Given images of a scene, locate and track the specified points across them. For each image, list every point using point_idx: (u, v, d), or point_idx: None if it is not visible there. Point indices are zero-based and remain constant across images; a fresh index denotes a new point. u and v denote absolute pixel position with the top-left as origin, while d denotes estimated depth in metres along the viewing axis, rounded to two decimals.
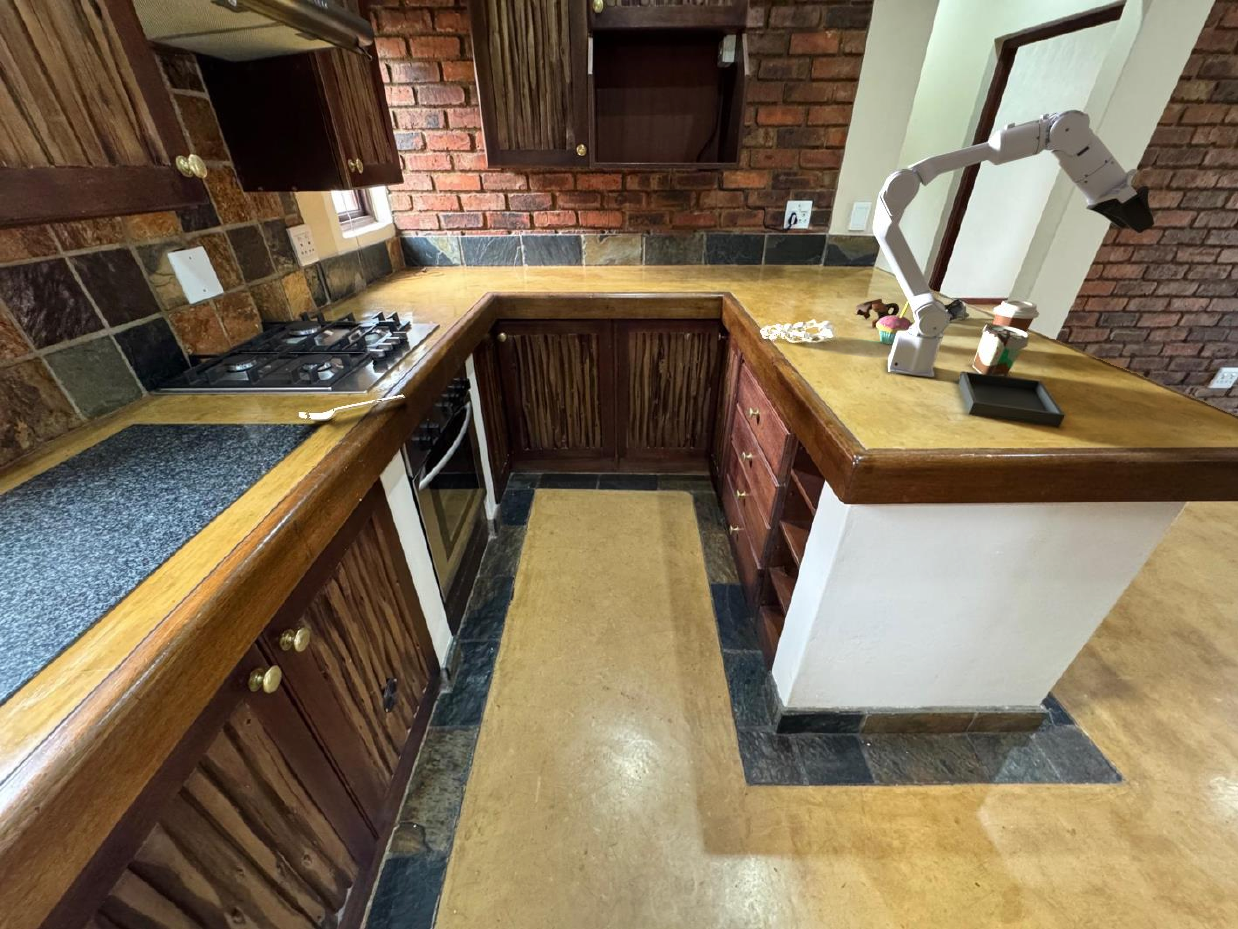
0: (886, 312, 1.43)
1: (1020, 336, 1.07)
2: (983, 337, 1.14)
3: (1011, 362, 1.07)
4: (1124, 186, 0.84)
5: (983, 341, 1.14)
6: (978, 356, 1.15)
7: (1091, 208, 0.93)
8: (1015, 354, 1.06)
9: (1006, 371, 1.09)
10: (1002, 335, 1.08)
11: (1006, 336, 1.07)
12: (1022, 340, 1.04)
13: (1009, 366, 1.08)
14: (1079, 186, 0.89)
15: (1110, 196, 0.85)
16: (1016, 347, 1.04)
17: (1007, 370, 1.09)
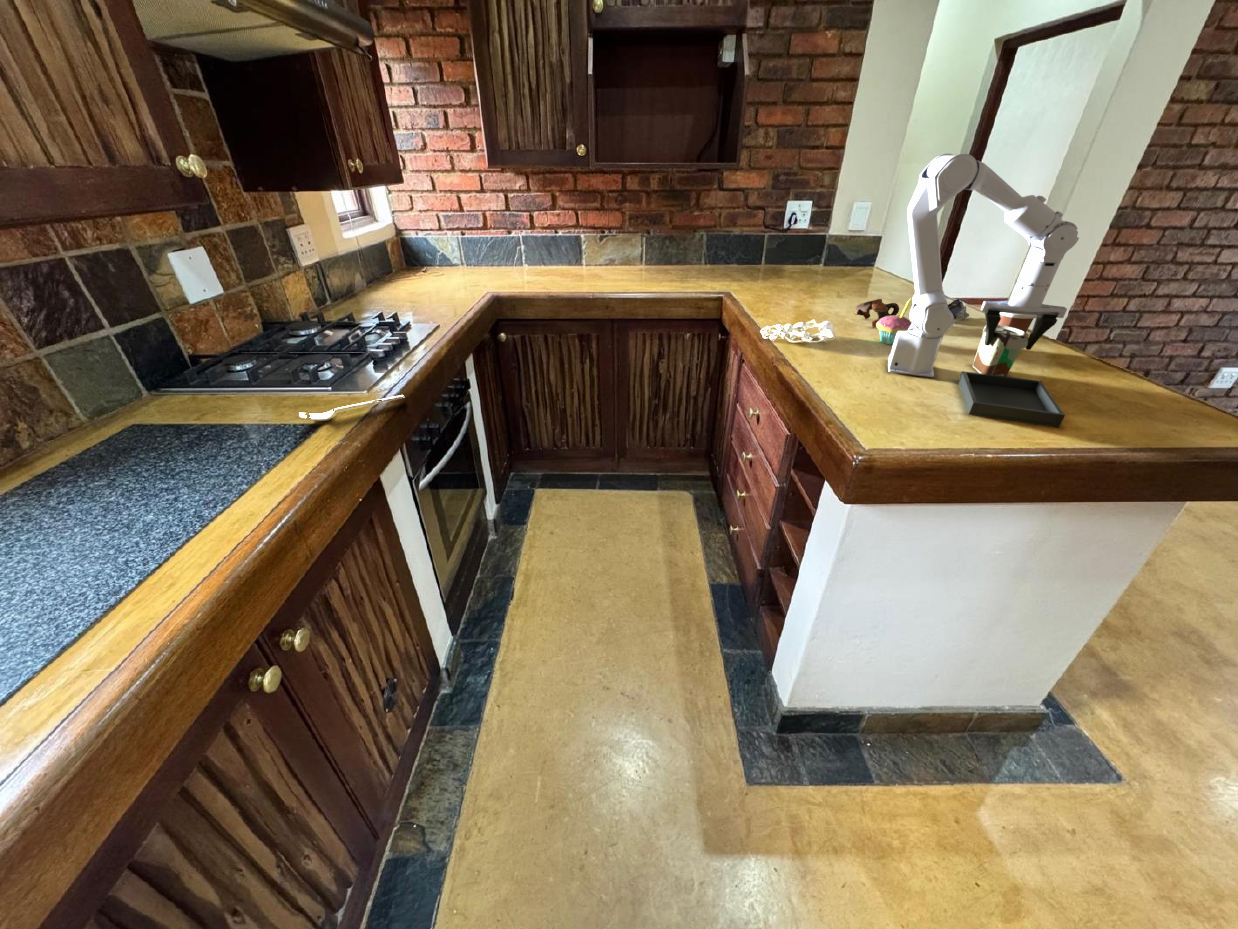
0: (886, 312, 1.43)
1: (1020, 336, 1.07)
2: (983, 337, 1.14)
3: (1011, 362, 1.07)
4: None
5: (983, 341, 1.14)
6: (978, 356, 1.15)
7: (1000, 317, 1.05)
8: (1015, 354, 1.06)
9: (1006, 371, 1.09)
10: (1002, 335, 1.08)
11: (1006, 336, 1.07)
12: (1022, 340, 1.04)
13: (1009, 366, 1.08)
14: (1038, 291, 1.00)
15: (1056, 309, 1.02)
16: (1016, 347, 1.04)
17: (1007, 370, 1.09)
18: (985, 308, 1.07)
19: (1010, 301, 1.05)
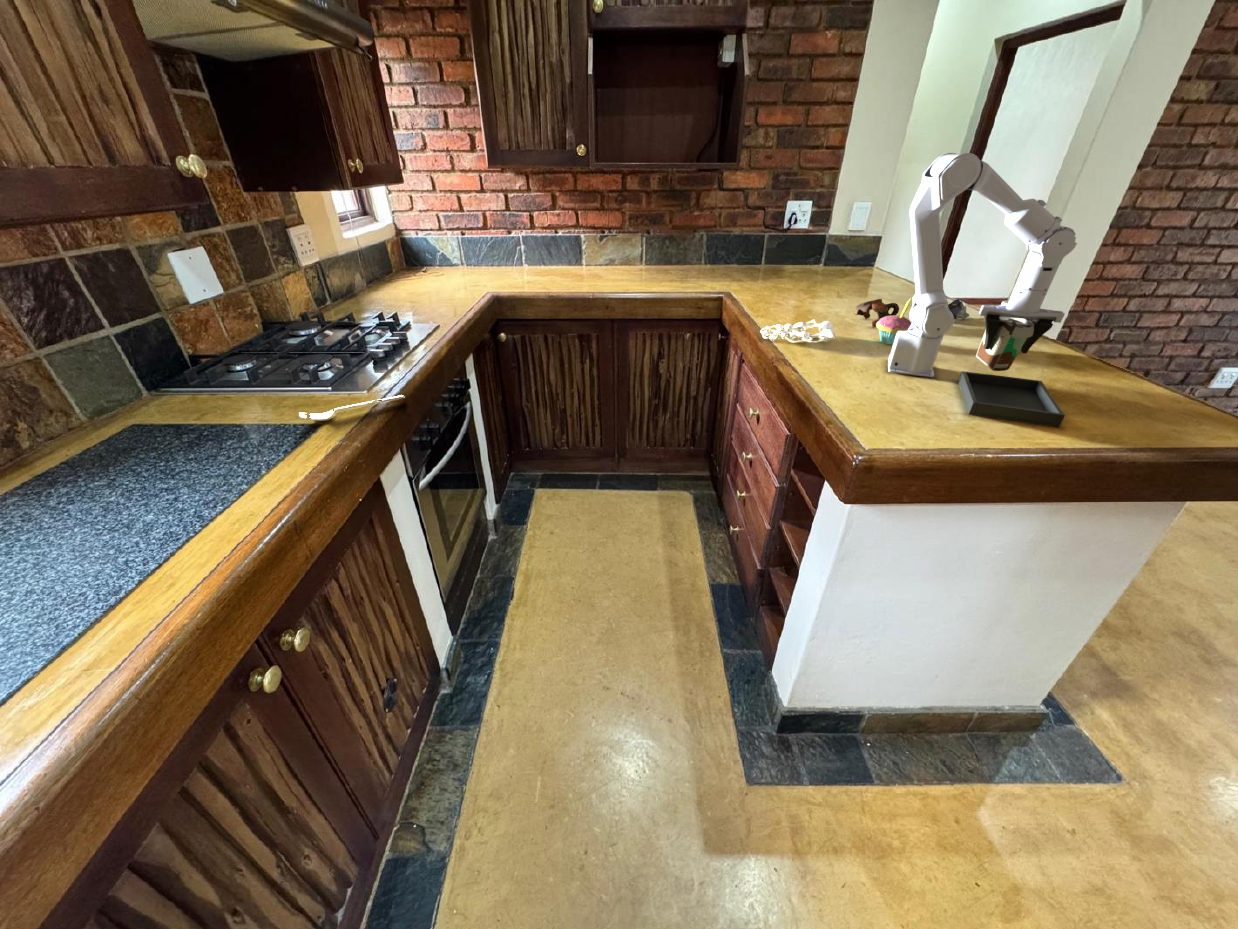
0: (886, 312, 1.43)
1: (1026, 325, 1.06)
2: None
3: (1016, 352, 1.06)
4: None
5: None
6: (982, 346, 1.14)
7: (1000, 322, 1.06)
8: (1021, 343, 1.05)
9: (1010, 361, 1.07)
10: (1008, 324, 1.06)
11: (1012, 325, 1.06)
12: (1028, 329, 1.03)
13: (1014, 356, 1.07)
14: (1036, 296, 1.01)
15: (1054, 314, 1.02)
16: (1022, 336, 1.03)
17: (1012, 360, 1.07)
18: (983, 312, 1.07)
19: (1008, 305, 1.05)
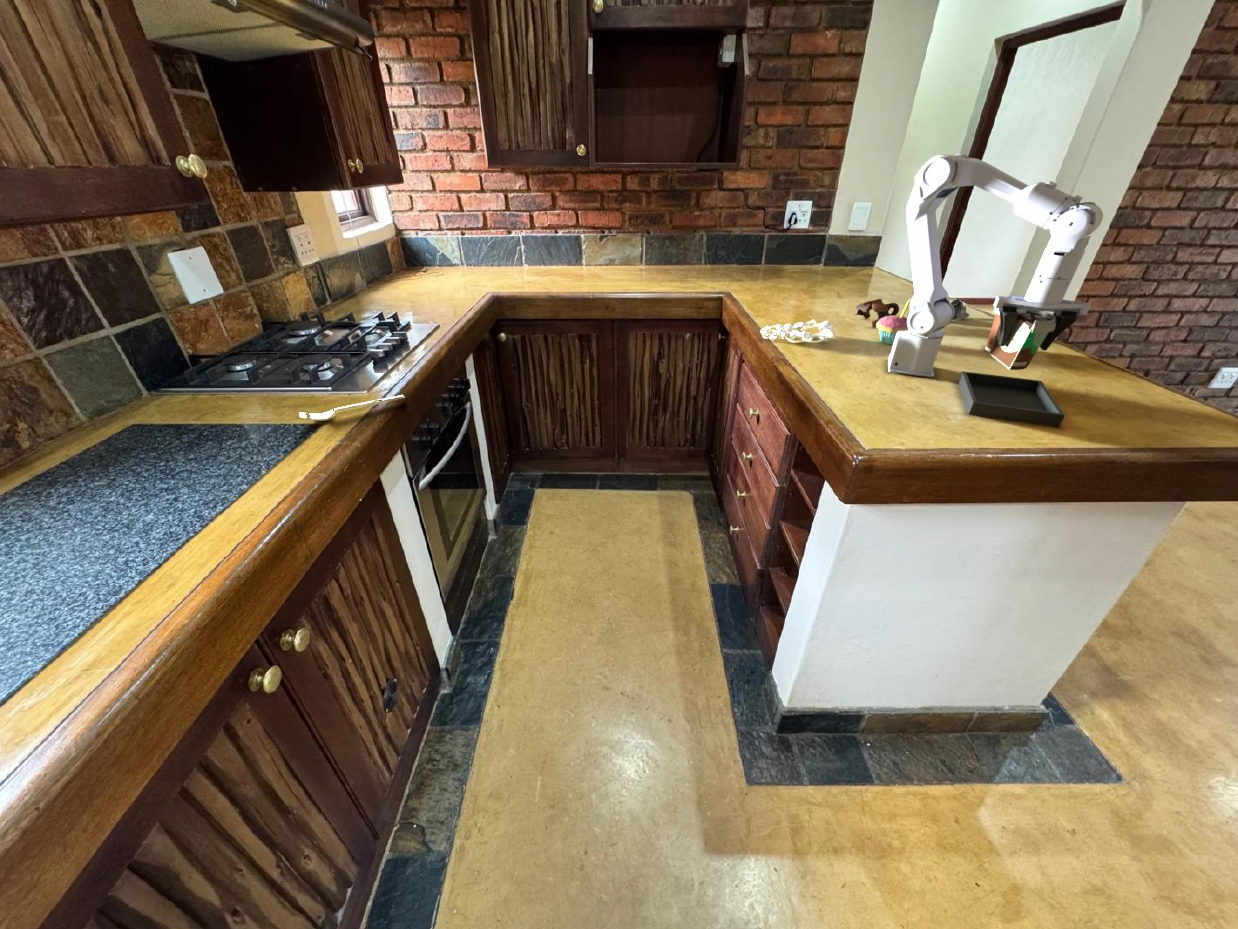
0: (886, 312, 1.43)
1: (1046, 319, 0.95)
2: None
3: (1036, 348, 0.94)
4: None
5: None
6: (996, 342, 1.02)
7: (1017, 315, 0.94)
8: (1041, 338, 0.93)
9: (1029, 359, 0.96)
10: (1026, 317, 0.95)
11: (1031, 318, 0.94)
12: (1050, 322, 0.91)
13: (1033, 353, 0.95)
14: (1059, 285, 0.89)
15: (1078, 305, 0.91)
16: (1043, 330, 0.91)
17: (1031, 357, 0.96)
18: (998, 304, 0.96)
19: (1027, 296, 0.94)
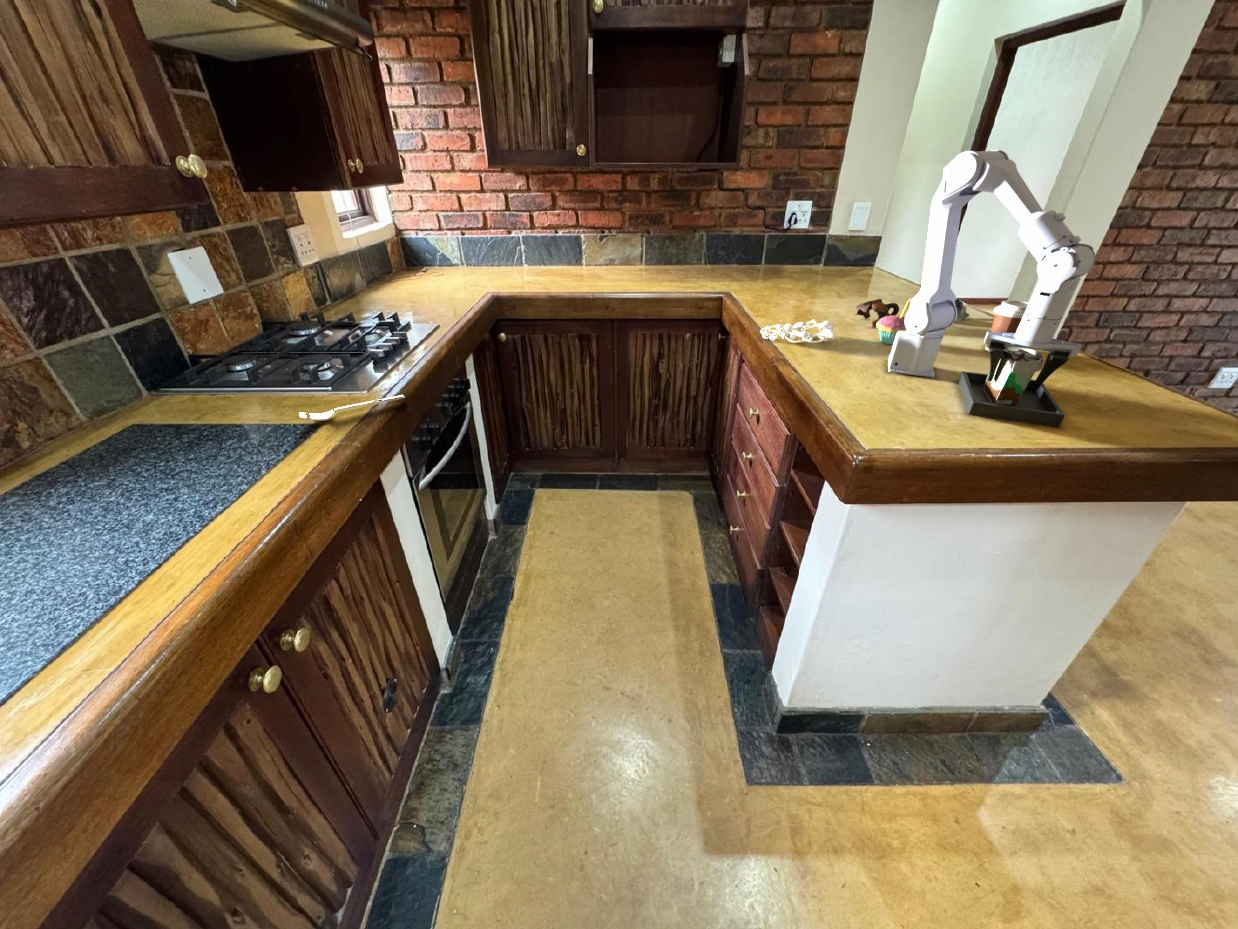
0: (886, 312, 1.43)
1: (1035, 359, 0.94)
2: None
3: (1020, 387, 0.95)
4: None
5: None
6: None
7: (1003, 351, 0.95)
8: (1025, 378, 0.93)
9: (1014, 397, 0.96)
10: (1012, 356, 0.95)
11: (1017, 358, 0.95)
12: (1032, 363, 0.91)
13: (1018, 392, 0.95)
14: (1046, 325, 0.89)
15: (1068, 346, 0.90)
16: (1024, 371, 0.91)
17: (1016, 396, 0.96)
18: (987, 340, 0.96)
19: (1016, 334, 0.94)
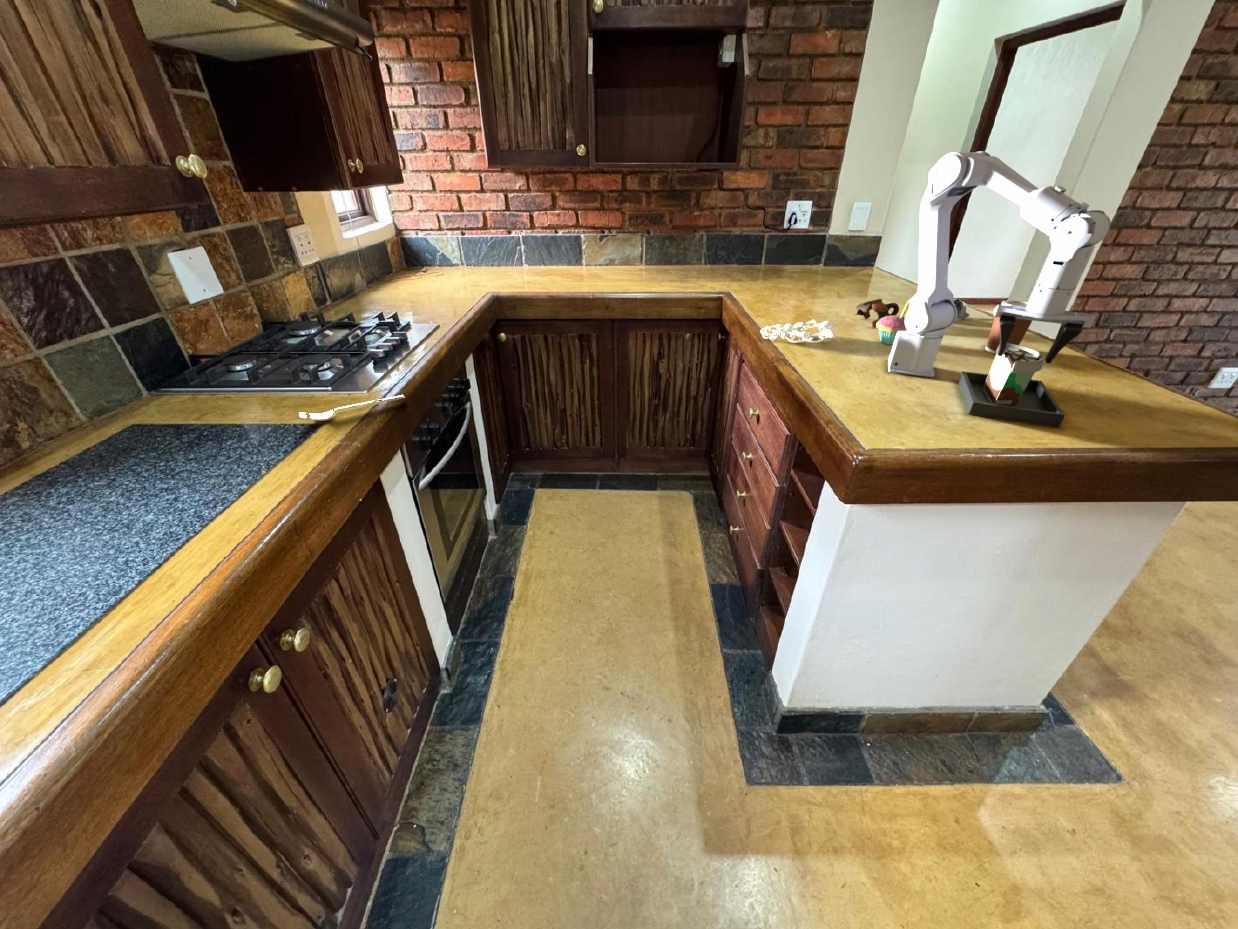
0: (886, 312, 1.43)
1: (1035, 359, 0.94)
2: (996, 357, 1.01)
3: (1020, 387, 0.95)
4: None
5: (995, 361, 1.01)
6: (989, 378, 1.02)
7: (1014, 324, 0.92)
8: (1025, 378, 0.93)
9: (1014, 397, 0.96)
10: (1013, 356, 0.95)
11: (1017, 358, 0.95)
12: (1032, 363, 0.91)
13: (1018, 392, 0.95)
14: (1059, 295, 0.86)
15: (1081, 317, 0.87)
16: (1024, 371, 0.91)
17: (1016, 396, 0.96)
18: (997, 313, 0.94)
19: (1027, 306, 0.91)
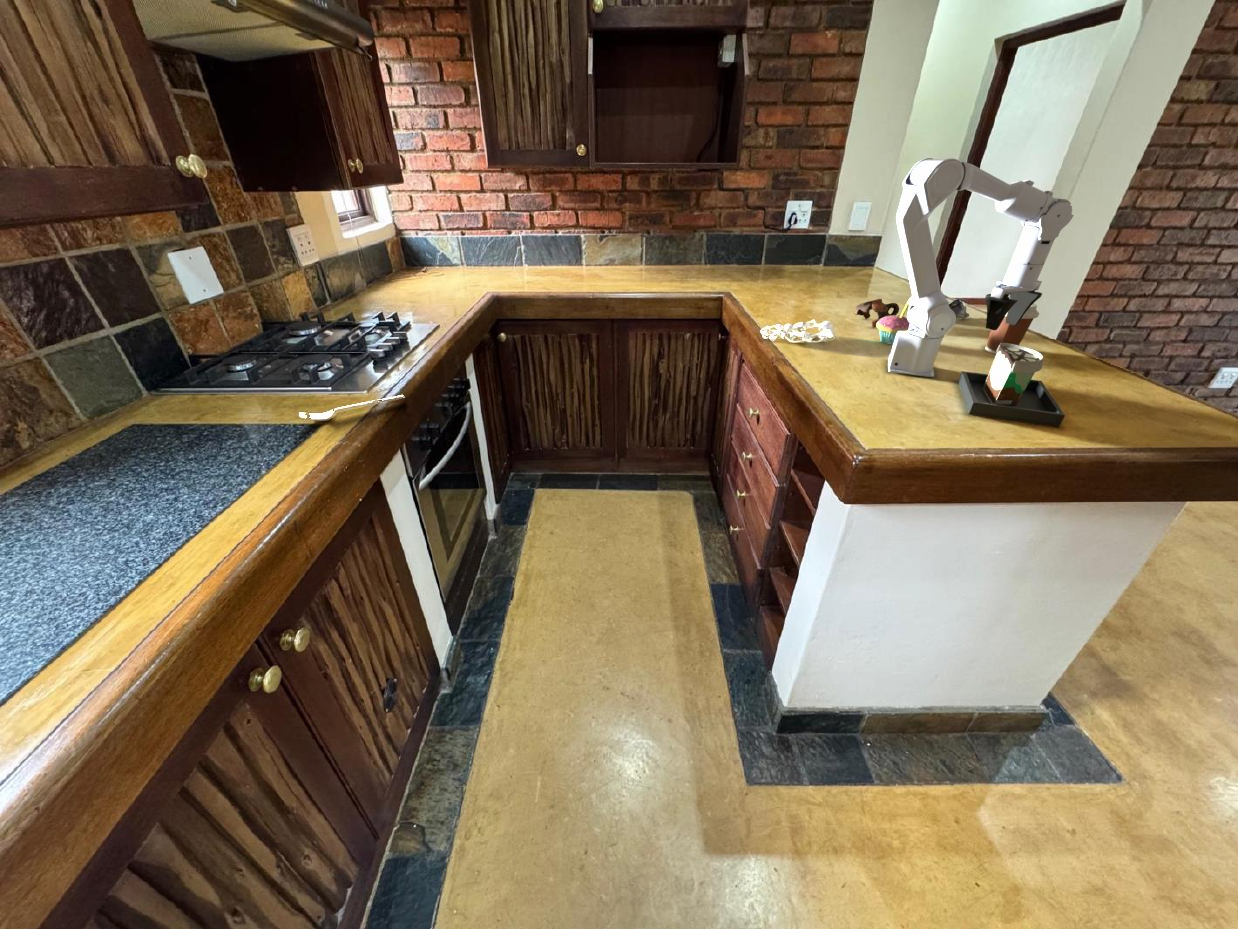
0: (886, 312, 1.43)
1: (1035, 359, 0.94)
2: (996, 357, 1.01)
3: (1020, 387, 0.95)
4: None
5: (995, 361, 1.01)
6: (989, 378, 1.02)
7: None
8: (1025, 378, 0.93)
9: (1014, 397, 0.96)
10: (1013, 356, 0.95)
11: (1017, 358, 0.95)
12: (1032, 363, 0.91)
13: (1018, 392, 0.95)
14: (1041, 269, 1.01)
15: (1038, 283, 1.06)
16: (1024, 371, 0.91)
17: (1016, 396, 0.96)
18: (1002, 294, 1.02)
19: (1014, 283, 1.03)
